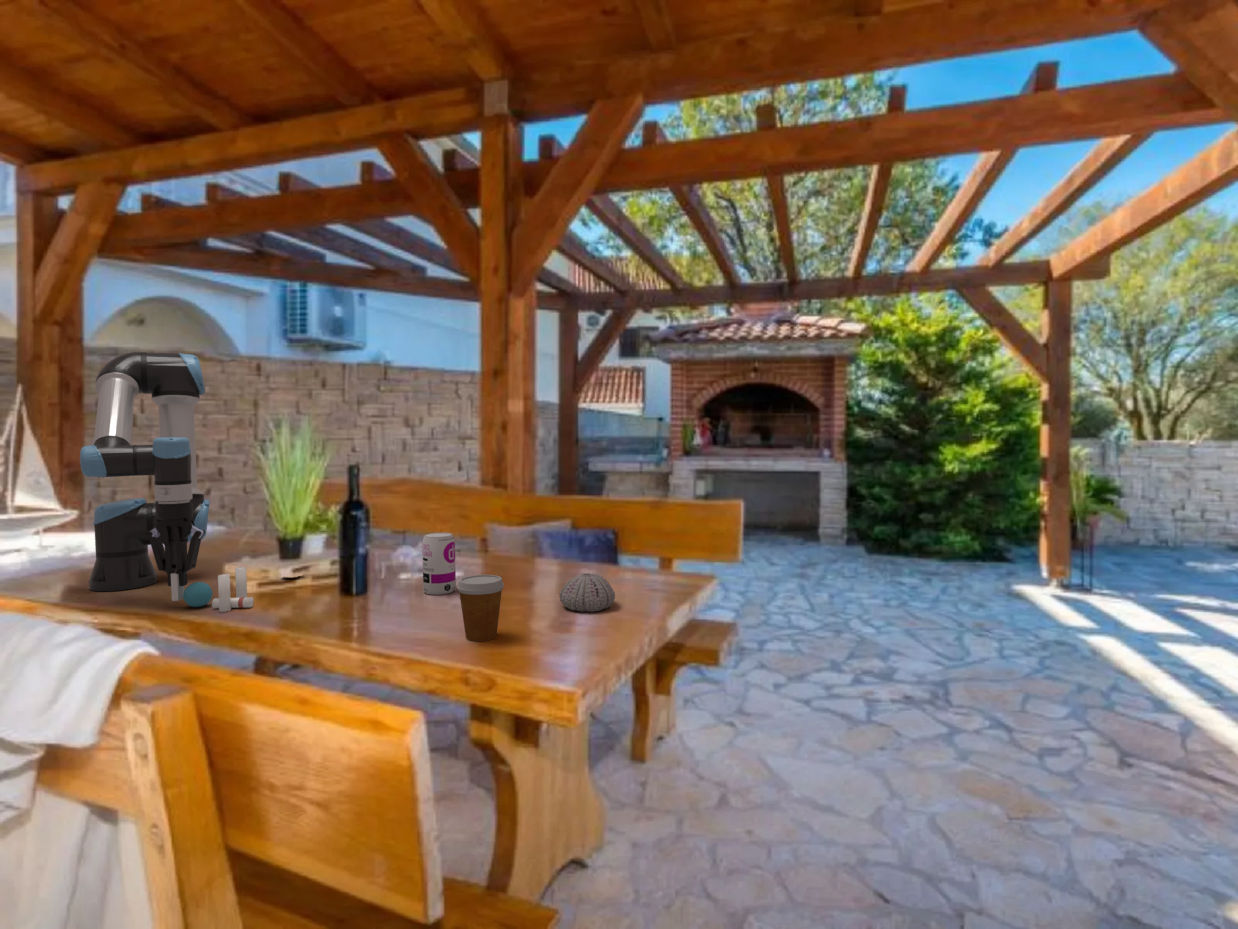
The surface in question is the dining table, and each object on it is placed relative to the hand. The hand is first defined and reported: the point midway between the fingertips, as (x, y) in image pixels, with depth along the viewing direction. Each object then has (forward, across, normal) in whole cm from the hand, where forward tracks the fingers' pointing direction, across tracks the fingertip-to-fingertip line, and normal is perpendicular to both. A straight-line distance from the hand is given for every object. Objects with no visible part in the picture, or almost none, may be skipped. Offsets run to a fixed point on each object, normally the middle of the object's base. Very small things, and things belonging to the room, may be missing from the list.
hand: (178, 599), depth 167 cm
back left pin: (+2, +13, +4) cm, 14 cm away
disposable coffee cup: (+2, +76, -27) cm, 81 cm away
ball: (-1, +5, 0) cm, 5 cm away
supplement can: (+2, +60, +11) cm, 61 cm away
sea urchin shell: (+2, +98, -6) cm, 99 cm away
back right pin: (+2, +13, -4) cm, 14 cm away
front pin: (+1, +9, -2) cm, 10 cm away
